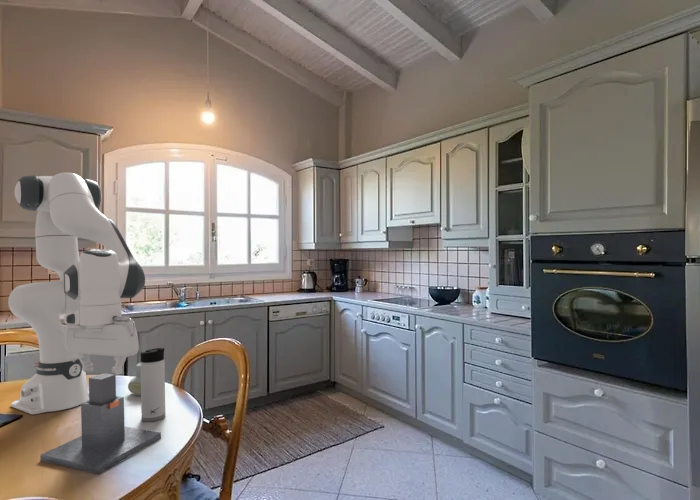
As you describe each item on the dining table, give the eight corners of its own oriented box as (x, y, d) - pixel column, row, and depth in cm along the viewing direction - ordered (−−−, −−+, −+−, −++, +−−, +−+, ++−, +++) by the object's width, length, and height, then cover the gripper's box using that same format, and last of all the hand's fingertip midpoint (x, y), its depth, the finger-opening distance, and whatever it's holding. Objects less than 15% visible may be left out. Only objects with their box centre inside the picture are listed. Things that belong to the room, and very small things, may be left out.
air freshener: (123, 395, 142) (123, 365, 142) (143, 387, 150) (143, 359, 150) (149, 398, 138) (148, 368, 138) (168, 390, 146) (167, 361, 146)
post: (89, 444, 102) (88, 378, 102) (104, 436, 106) (103, 373, 106) (102, 446, 101) (101, 379, 101) (117, 439, 105) (116, 374, 105)
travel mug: (157, 422, 119) (155, 351, 119) (136, 421, 120) (135, 350, 120) (171, 414, 125) (169, 346, 125) (151, 412, 126) (149, 345, 126)
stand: (40, 461, 98) (39, 409, 98) (108, 429, 115) (107, 385, 115) (98, 474, 92) (97, 418, 92) (161, 438, 109) (160, 391, 109)
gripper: (144, 314, 103) (146, 372, 103) (82, 312, 110) (84, 366, 110) (122, 319, 97) (124, 379, 97) (58, 316, 104) (60, 373, 104)
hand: (102, 372), depth 103 cm, fingers open, 8 cm apart
